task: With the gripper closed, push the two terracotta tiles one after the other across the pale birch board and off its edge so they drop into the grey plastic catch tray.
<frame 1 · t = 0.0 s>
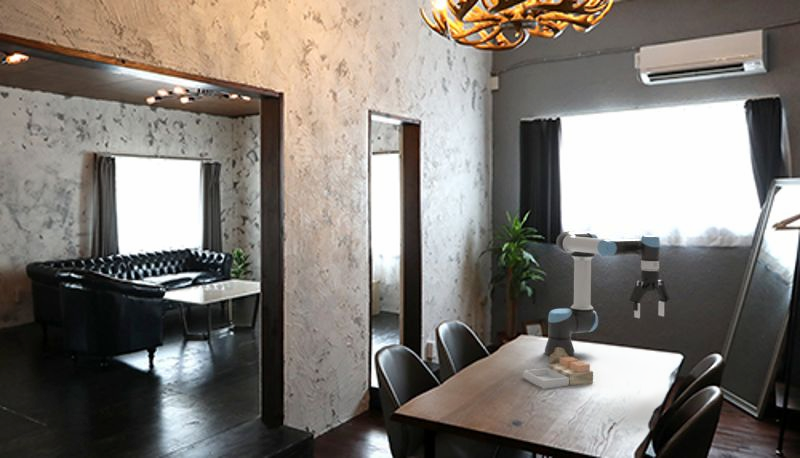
hand: (649, 316, 260), 28 cm above the table, fingers open, 13 cm apart
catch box: (545, 381, 255), on the table
board: (570, 378, 260), on the table
rock: (555, 369, 276), on the table
tile b: (579, 369, 256), point 5 cm above the table, touching board
tile a: (569, 365, 264), point 5 cm above the table, touching board
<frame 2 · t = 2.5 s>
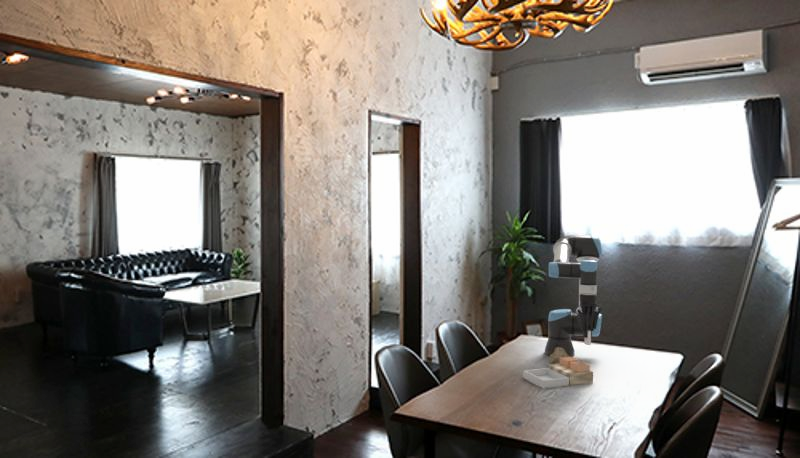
hand: (587, 344, 266), 14 cm above the table, fingers closed
nothing on the table moved.
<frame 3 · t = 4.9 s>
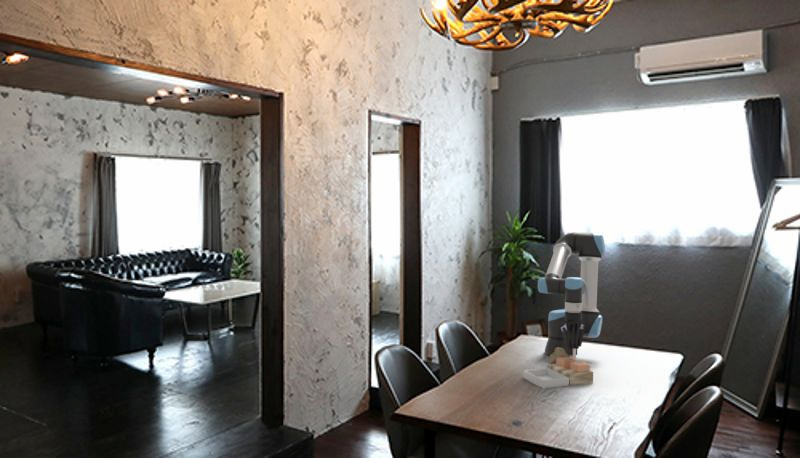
hand: (572, 362, 264), 6 cm above the table, fingers closed
tile a: (565, 365, 263), point 5 cm above the table, touching gripper
everything else where it was.
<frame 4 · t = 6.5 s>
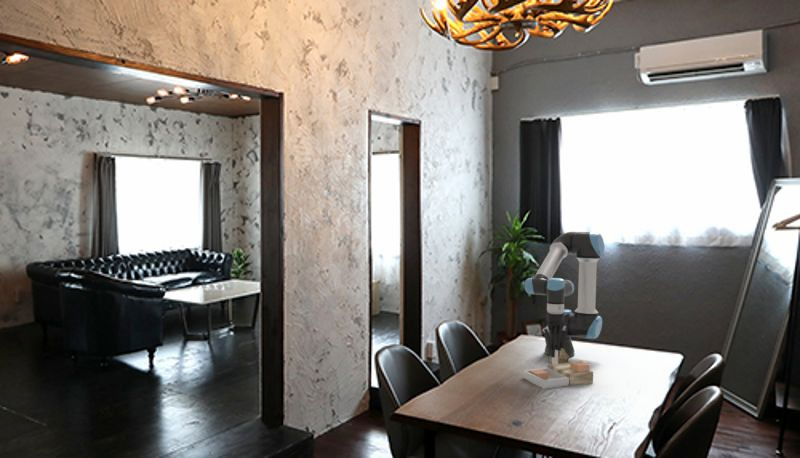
hand: (554, 364, 261), 6 cm above the table, fingers closed
tile a: (539, 371, 259), point 4 cm above the table, tilted 180°, touching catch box
everything else where it was.
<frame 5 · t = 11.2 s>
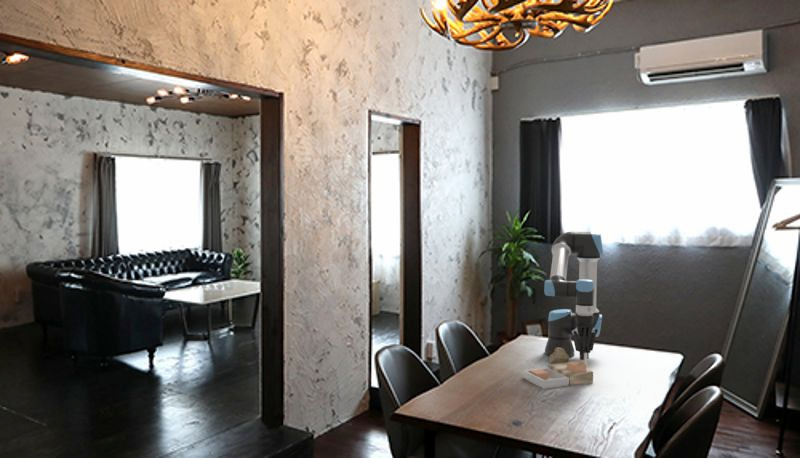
hand: (583, 366, 257), 6 cm above the table, fingers closed
tile b: (576, 370, 256), point 5 cm above the table, touching board, gripper
everything else where it was.
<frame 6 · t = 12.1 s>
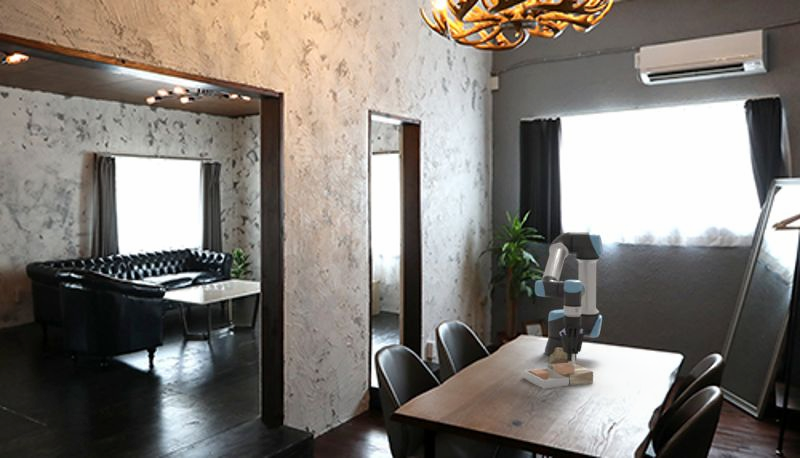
hand: (571, 368, 255), 6 cm above the table, fingers closed
tile b: (564, 371, 254), point 5 cm above the table, touching gripper
everything else where it was.
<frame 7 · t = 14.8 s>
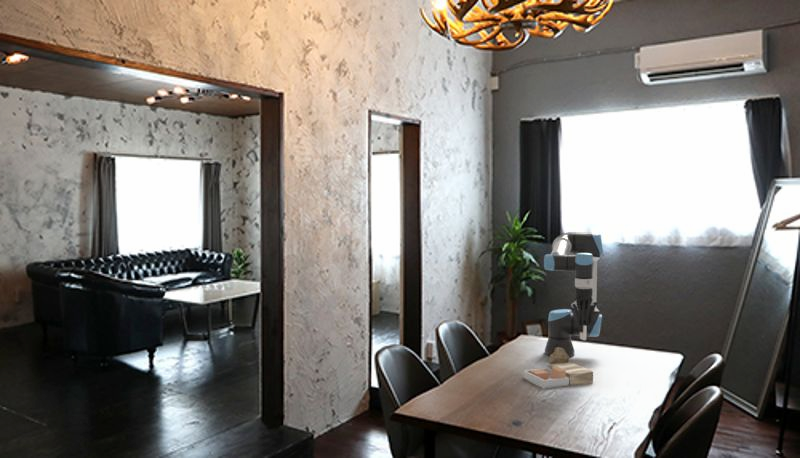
hand: (583, 339, 259), 18 cm above the table, fingers closed
tile b: (561, 375, 253), point 4 cm above the table, tilted 90°, touching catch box
everything else where it was.
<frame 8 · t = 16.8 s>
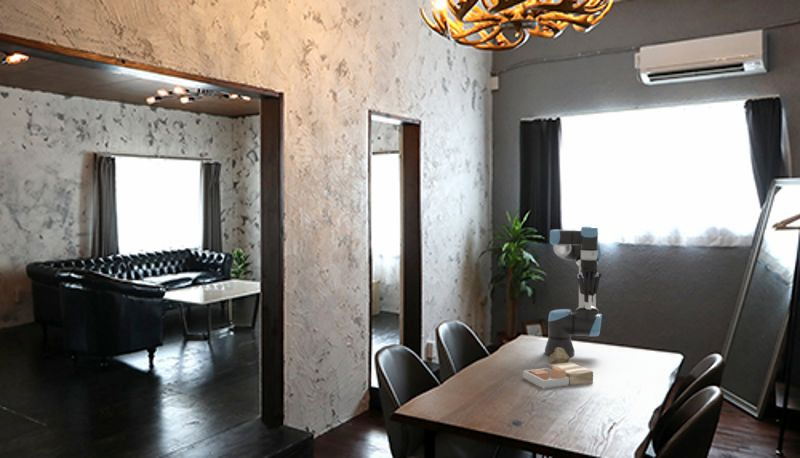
hand: (588, 308, 272), 29 cm above the table, fingers closed
nothing on the table moved.
at the end: tile a inside the target area on the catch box (4.1 cm from its centre), point 3.6 cm above the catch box's base; tile b inside the target area on the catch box (6.7 cm from its centre), point 3.6 cm above the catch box's base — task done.
